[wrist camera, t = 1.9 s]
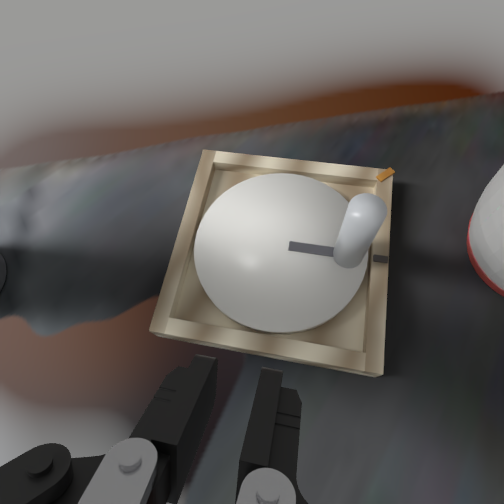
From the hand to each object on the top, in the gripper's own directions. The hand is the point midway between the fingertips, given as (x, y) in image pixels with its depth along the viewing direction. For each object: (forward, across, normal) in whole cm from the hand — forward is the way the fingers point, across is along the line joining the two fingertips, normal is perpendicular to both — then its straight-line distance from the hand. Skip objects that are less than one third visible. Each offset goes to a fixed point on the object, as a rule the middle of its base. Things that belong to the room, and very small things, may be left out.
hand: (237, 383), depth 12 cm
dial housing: (+27, +1, +6) cm, 28 cm away
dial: (+26, +1, +5) cm, 27 cm away
